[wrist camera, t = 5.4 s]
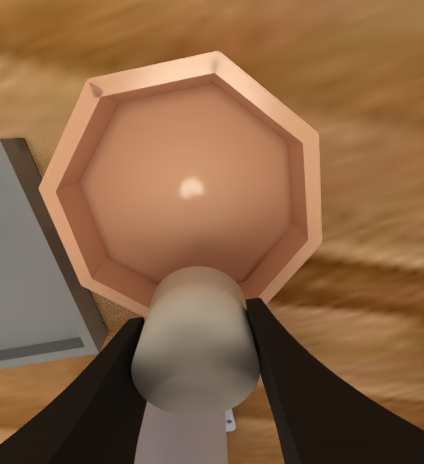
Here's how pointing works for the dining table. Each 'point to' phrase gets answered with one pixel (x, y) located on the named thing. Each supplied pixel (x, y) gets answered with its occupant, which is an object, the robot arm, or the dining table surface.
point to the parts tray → (38, 274)
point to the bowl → (184, 181)
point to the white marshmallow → (196, 345)
